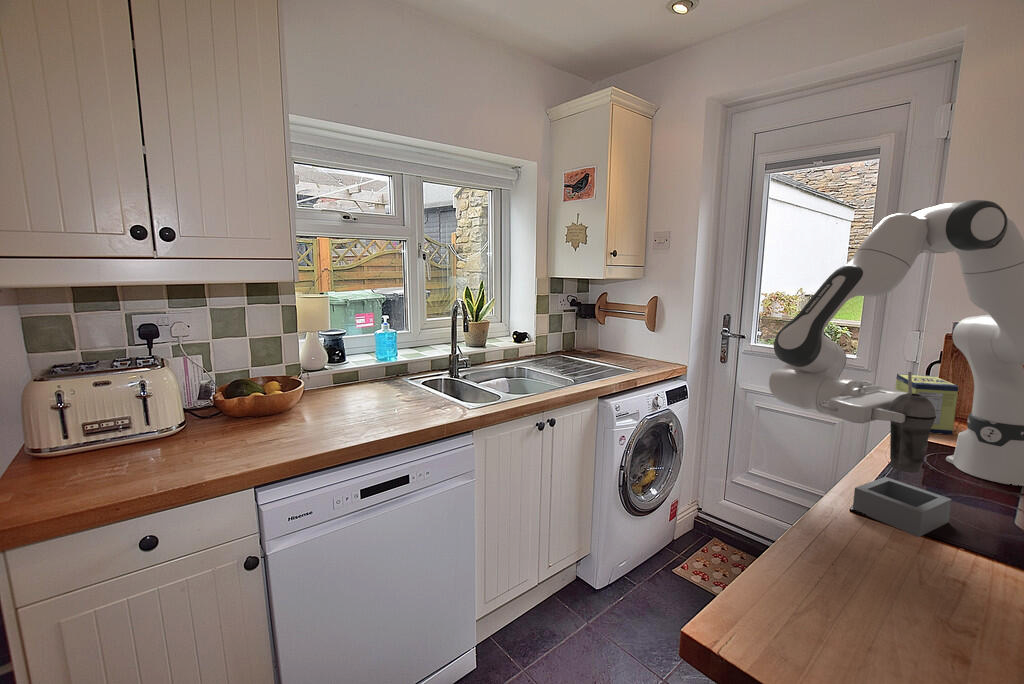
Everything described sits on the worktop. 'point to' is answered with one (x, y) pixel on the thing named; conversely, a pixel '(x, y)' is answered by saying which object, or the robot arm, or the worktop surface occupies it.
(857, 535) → the worktop surface
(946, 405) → the protein box
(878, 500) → the holder block
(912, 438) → the beverage cup
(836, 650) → the worktop surface
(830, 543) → the worktop surface
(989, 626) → the worktop surface
